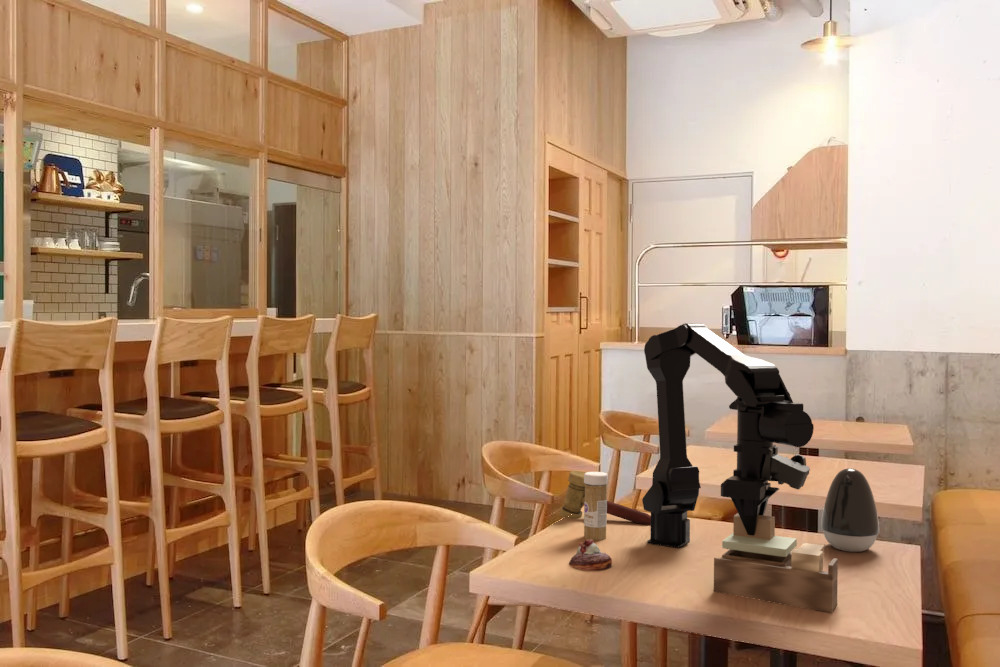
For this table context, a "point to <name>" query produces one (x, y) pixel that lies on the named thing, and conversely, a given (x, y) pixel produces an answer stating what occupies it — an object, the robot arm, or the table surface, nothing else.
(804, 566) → the tan wooden block
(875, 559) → the table surface
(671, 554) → the table surface
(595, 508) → the sprinkles bottle
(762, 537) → the lid
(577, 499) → the gavel
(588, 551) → the pastry
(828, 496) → the grey white egg shape
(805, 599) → the toolbox
